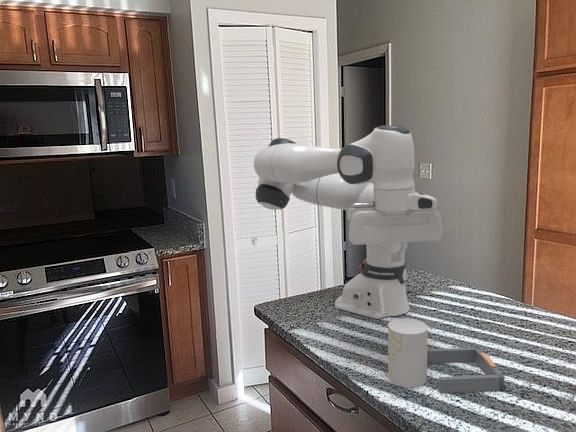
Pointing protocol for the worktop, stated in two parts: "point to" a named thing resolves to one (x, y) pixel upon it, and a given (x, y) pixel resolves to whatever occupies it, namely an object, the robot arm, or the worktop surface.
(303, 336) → the worktop surface
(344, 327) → the worktop surface
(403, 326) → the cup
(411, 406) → the worktop surface
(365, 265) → the robot arm
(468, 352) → the bracket
